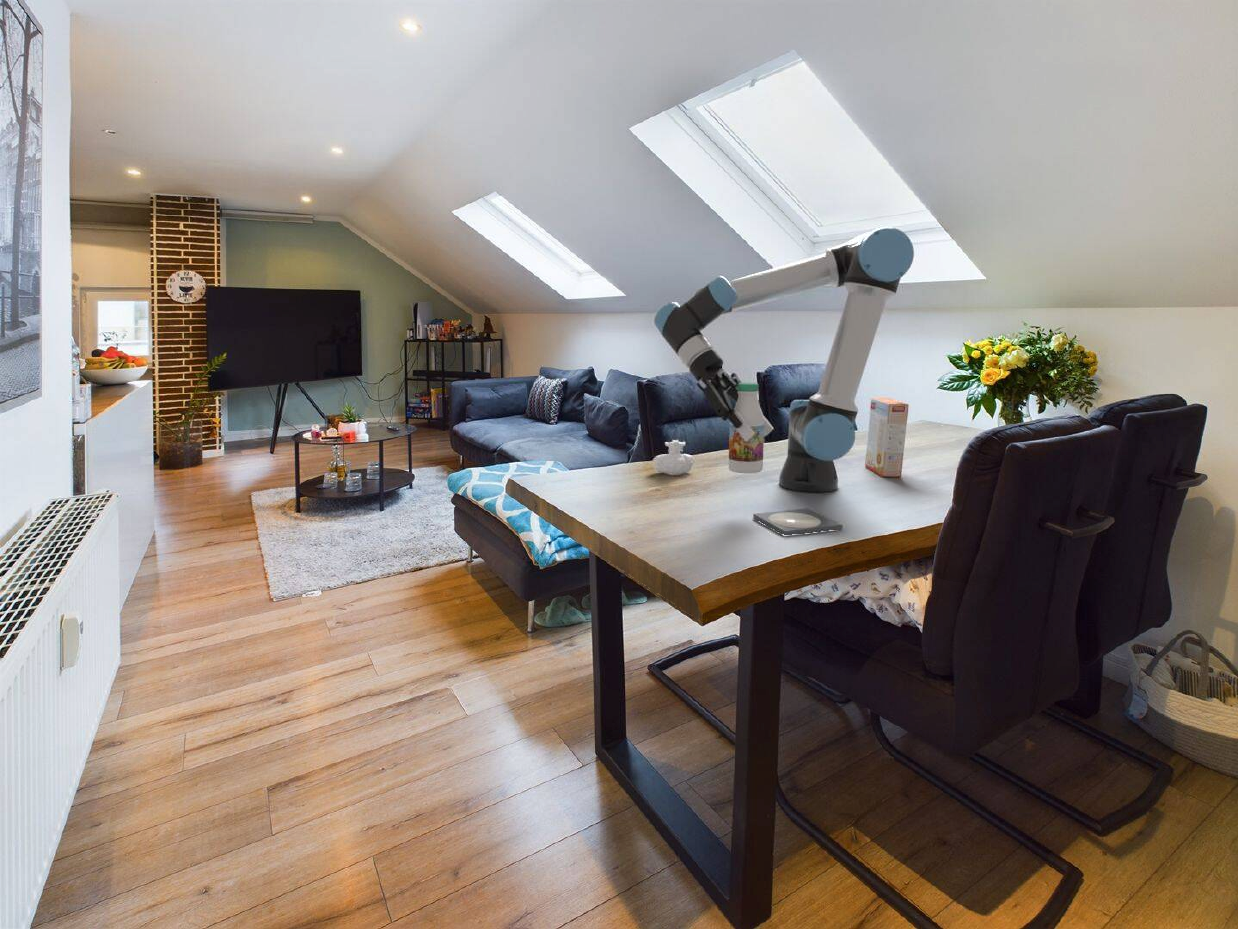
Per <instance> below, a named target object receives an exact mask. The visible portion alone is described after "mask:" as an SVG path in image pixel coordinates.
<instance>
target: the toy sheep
mask: <svg viewBox="0 0 1238 929" xmlns="http://www.w3.org/2000/svg"><path fill="white" fill-rule="evenodd" d="M664 445H665V446H666V447H668V451H667V452H668V453H667V454H666V453H665V454H663V453H662V454H659V455H656V456H655V457H653V459H652V464H653V468H654V470H655V472H657V473H661V474H666V475H668V476H674V475H676V476H680V475H682V474H685V473H688V472H690V471H691V470H692V468H693V465H694V463H695V461H696V459H695V457H693V455H690V454H687V453H681V452H683V448H684V446H686V441H682V442H681V441H679V439H675V440H674V439H672V440H671V441H669V442H668V441H666V442H664Z"/></svg>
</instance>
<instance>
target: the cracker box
mask: <svg viewBox="0 0 1238 929" xmlns="http://www.w3.org/2000/svg"><path fill="white" fill-rule="evenodd" d="M869 408H870V410H869V419H868V431H867V440H866V441H867V442H866V452H865V453H866V454H865V460H864V463H865V464H864V466H865V467H866V468H867V469H869V470H871V471H872V472H874V473H875V474H876V475H878V476H880V477H883V478H901V477H902V472H903V471H902V470H903V462H904V461H903V460H904V454H905V445H906V444H905V442H906V436H907V435H906V434H907V426H908V415H909V408H910V405H909V403H905V402H903V401H899V400H896V399H892V398H889V397H871V398H870V407H869Z"/></svg>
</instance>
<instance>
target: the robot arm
mask: <svg viewBox="0 0 1238 929" xmlns="http://www.w3.org/2000/svg"><path fill="white" fill-rule="evenodd" d="M914 256H915V249H914V246H913V242H912V241H911V239H910V238H909V236H908V235H907V234H906V233H905V232H903V231H902V230H900V229H898V228H896V227H889V226H887V227H878V228H874V229H872V230H870V231H869V232H866V233H863V234H861V235H858V236H857V237H855V238H853V239H851V240H849V241H847V242H844V243H843V244H840V245H837V246H835V247H831V248H827V249H826V250H825V251H824V253H823V254H821V255H818V256H817V255H816V256H815V257H811V258H807V259H804V260H800V261H797V262H793V263H789V264H786V265H782V266H778V267H775V268H771V269H767V270H765V271H760V272H757V273H754V274H749V275H747V276H743V277H739V278H736V279H732V280H729V281H728V280H727V279H726V278H725V277H724V276H721V275H719V276H717V277H716V278H714V279H713V280H711V281H710V282H708V284H707V285H705V286H704V287H703V288H700V289H698V291H695V294H694V295H693V296H692V297H690V299H689V300H688V301H687V302H685V303H683V304H682V305H681V304H679V303H678V302H676V301H674V302H669V303H668V304H665V305H663V306H662V307H660V309H659V310H658V311H657V313H656V314H655V317H654V320H653V321H654V325H655V327H656V328H657V330H658V331H659V333H660V334H661V335H662V337H663V339H665V341H666V342H667V344H668V345H669V346H670V347H671V349H672V350H673V352H675V354H676V355H677V356H678V358H679V359H680V360H681V361H682V364H683V365H684V366H685V367H686V368H688V369H689V372H690V373H691V375H692V376H693V377H694V379H695V380H696V381H697V383H696V386H697V388H699V390H701V392H702V393H703V395H704V396H705V397H706V399H707V400H708V403H710V405H711V407H712V408H713V410H714V412H715V413H716V414H717V416H718V418H721V419H722V421H724V422H726V421H727V420H729V423H730V422H731V423H732V424H733V426H734V427H735V428H736V430H737V431H738V432H739V433H740V435H741V436H742V437H743V439H744V440H745V441H746V442H747V441H748V440H749V439H751V438H752V437H753V436H754V435H755V432H754V431H753V430H752V428H751V427H750V426H749V425H748V423H747V422H746V421H745V419H744V418H743V417H742V416H741V414H740V413H739V412H738V411H736V412H735V410H734V406H733V404H732V401H731V400H730V398H729V396H730V397H731V399H733V401H734V402H736V403H737V400H738V393H737V392H738V389H737V387H738V383H743V382H742V380H740V378H739V377H738V375H737V374H736V373H735V372H732V373H731V374H728V372H726V371H725V370H724V369H723V365H724V360H723V358H722V357H721V356H720V354H719V353H718V352H717V351H716V350H715V349H714V347H713V346H712V344H711V343H710V341H708V340H707V339H706V337H705V336H704V335H703V333H702V332H701V331H703V330H704V329H705V328H706V327H707V326H708V325H710V324H711V323H712V322H714V321H716V319H718V318H720V317H721V315H726V314H728V313H732V312H735V311H741V310H743V309H746V308H751V307H754V306H758V305H762V304H765V303H769V302H773V301H776V300H779V299H784V298H788V297H790V296H791V297H792V296H794V295H795V296H796V295H798V294H802V293H806V292H810V291H813V290H817V289H821V288H825V287H829V286H830V287H832V288H834V289H835V288H840V287H845V289H846V290H847V296H846V300H845V302H844V306H843V310H842V311H841V312H842V313H841V316H840V318H839V323H838V325H837V328H836V332H835V335H834V339H833V343H832V345H831V349H830V353H829V355H828V359H827V362H826V366H825V368H824V371H823V376H822V379H821V381H820V385H819V389H818V392H816V393H815V394H813V395H811V396H810V397H809V398H808V399H794V400H793V401H791V402H790V408H789V411H788V412H789V420H788V422H789V424H788V437H787V455H786V459H785V461H784V463H783V466H782V469H781V472H780V473H779V477H778V480H779V481H778V485H779V486H781V487H783V488H785V489H788V490H792V491H797V492H806V493H826V492H831V491H835V490H837V489H838V488H839V487H838V485H839V477H838V474H837V470H836V466H835V462H834V461H835V460H836V461H837V460H838V459H841V458H843V457H844V456H846V455H847V454H848V453H849V452H850V451H851V449H852V448H853V446H854V444H855V440H856V429H855V427H854V425H855V422H856V418H857V416H858V413H859V409H858V407H857V405H856V403H855V399H856V398H857V397H856V396H857V393H858V390H859V387H860V385H861V381H862V378H863V374H864V372H865V367H866V365H867V361H868V359H869V356H870V353H871V350H872V347H873V343H874V339H875V337H876V334H877V331H878V328H879V324H880V321H881V318H882V314H883V313H884V309H885V306H886V302H887V301H888V300H889V299H891V298H893V297H895V296H896V294H897V290H898V287H899V285H900V281H901V278H902V277H903V276H905V275H906V274H907V272H908V271H909V270H910V268H911V267H912V264H913V262H914ZM758 403H759V406H760V405H761V402H760V400H758ZM734 412H735V413H734ZM763 418H764V437H767V436H769V434H770V433H771V432H772V431H773V430H774V429H775V428H774V427H773V426H772V424H771V423H770V421H769V420H768V419H767V418H766V417H765V416H764V414H763Z"/></svg>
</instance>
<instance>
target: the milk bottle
mask: <svg viewBox="0 0 1238 929" xmlns="http://www.w3.org/2000/svg"><path fill="white" fill-rule="evenodd" d="M737 389H738V392H737V393H738V400H737V402H736V403H735V406H733V408H734V410H735V412H736V411H738V412H739V413H740V414H741V416H742V417H743V418H744V419H745V421H746V422H747V423H748V425H749V426H750V427H751V428H752V430H753V431H754V432H755V435H754V436H753V437H752V438H751V439H749V440H748V441H747V442H746V441H745V440H744V439H743V437H742V436H741V435H740V433H739V432H738V431H737V430H736V428H735V427H734V426H733V424H732V423H731V422H730V421H729V432H728V433H729V435H728V436H729V437H728V438H729V440H728V470H729V471H730V472H733V473H737V474H756V473H760V472H762V471H763V468H764V447H765V446H764V445H765V444H764V443H765V442H764V441H765V438H764V437H765V436H764V418H763V415H764V413H763V411H762V408H761V406H760V405H759V403H758V401H759V400H758V394H759V383H757V382H742V383H738V387H737ZM735 412H734V413H735Z"/></svg>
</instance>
